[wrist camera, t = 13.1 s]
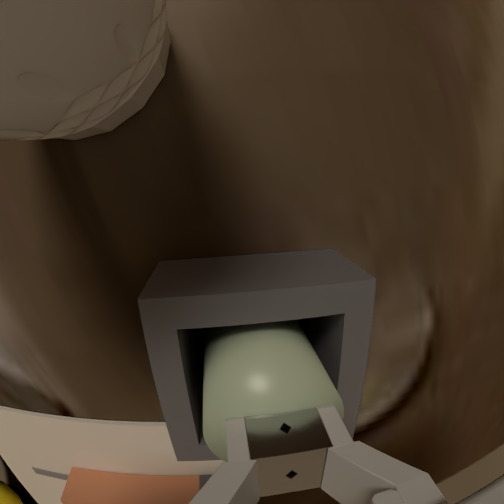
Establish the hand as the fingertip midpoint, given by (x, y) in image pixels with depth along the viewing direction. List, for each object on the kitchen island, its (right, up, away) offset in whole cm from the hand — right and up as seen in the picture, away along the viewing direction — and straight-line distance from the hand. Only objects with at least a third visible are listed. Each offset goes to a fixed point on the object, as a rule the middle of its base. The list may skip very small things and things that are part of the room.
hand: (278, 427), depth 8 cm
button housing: (-1, +1, +6) cm, 6 cm away
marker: (-7, -10, +7) cm, 14 cm away
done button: (-1, +1, +5) cm, 5 cm away
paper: (-10, -10, +7) cm, 16 cm away
